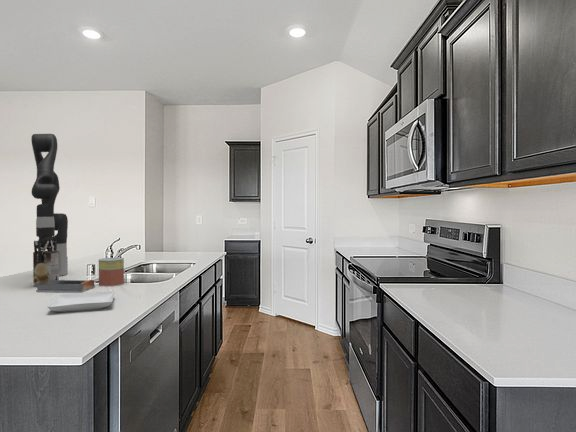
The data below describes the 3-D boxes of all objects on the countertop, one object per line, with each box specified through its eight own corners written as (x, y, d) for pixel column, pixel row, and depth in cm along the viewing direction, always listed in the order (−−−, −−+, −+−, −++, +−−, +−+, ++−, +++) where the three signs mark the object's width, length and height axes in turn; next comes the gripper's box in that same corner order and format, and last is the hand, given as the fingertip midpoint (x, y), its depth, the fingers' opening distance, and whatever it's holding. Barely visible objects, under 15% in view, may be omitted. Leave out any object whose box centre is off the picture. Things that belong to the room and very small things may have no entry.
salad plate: (56, 302, 164) (56, 293, 164) (114, 298, 172) (114, 290, 171) (46, 316, 144) (46, 306, 144) (112, 310, 152) (112, 301, 152)
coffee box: (32, 286, 194) (31, 252, 193) (41, 283, 200) (41, 250, 199) (50, 286, 193) (50, 252, 192) (59, 284, 199) (59, 250, 199)
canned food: (128, 281, 205) (128, 257, 205) (116, 286, 194) (116, 260, 194) (106, 281, 206) (106, 257, 206) (93, 285, 195) (93, 260, 195)
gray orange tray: (52, 286, 193) (52, 278, 193) (95, 287, 192) (94, 278, 192) (36, 292, 181) (36, 283, 181) (81, 292, 180) (81, 283, 180)
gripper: (47, 225, 203) (47, 259, 203) (27, 227, 188) (28, 263, 189) (62, 225, 202) (62, 259, 203) (43, 227, 188) (44, 263, 189)
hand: (45, 261), depth 196 cm, fingers closed on coffee box, 6 cm apart
